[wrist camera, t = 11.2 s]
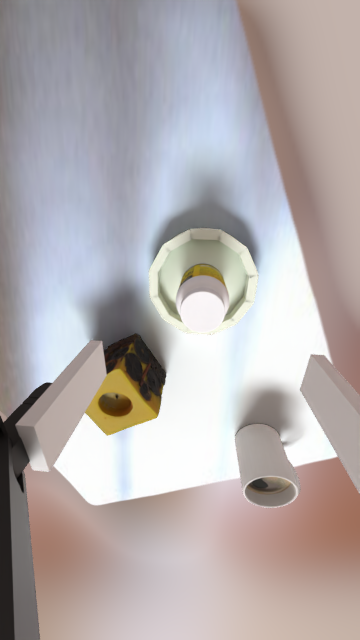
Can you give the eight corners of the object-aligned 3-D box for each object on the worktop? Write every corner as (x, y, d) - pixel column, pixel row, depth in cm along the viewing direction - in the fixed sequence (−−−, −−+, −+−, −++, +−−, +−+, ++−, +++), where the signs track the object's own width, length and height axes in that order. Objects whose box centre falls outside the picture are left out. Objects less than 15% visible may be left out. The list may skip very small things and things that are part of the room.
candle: (92, 353, 41) (61, 391, 32) (137, 330, 39) (118, 365, 30) (124, 393, 45) (104, 437, 35) (168, 374, 42) (159, 418, 33)
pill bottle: (188, 256, 32) (182, 274, 22) (230, 269, 32) (243, 293, 22) (176, 296, 34) (165, 329, 24) (214, 308, 35) (220, 346, 25)
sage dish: (151, 226, 31) (146, 226, 29) (261, 229, 30) (267, 230, 28) (153, 323, 38) (150, 331, 35) (245, 329, 37) (248, 337, 34)
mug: (228, 428, 46) (235, 481, 37) (276, 418, 44) (296, 470, 35) (245, 462, 50) (254, 517, 41) (289, 454, 47) (310, 510, 38)
